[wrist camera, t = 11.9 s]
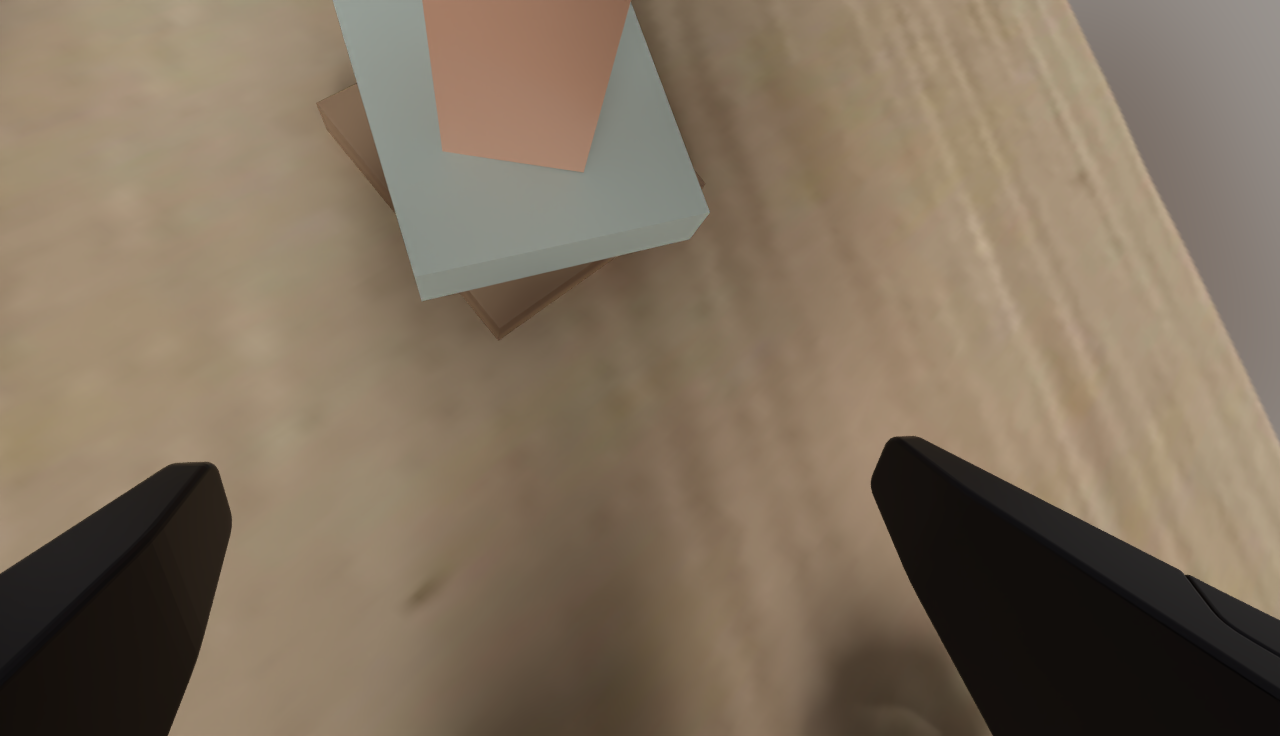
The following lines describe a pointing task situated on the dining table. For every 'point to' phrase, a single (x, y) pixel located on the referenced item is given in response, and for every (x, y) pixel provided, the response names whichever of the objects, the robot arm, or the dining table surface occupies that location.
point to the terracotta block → (522, 76)
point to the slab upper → (517, 167)
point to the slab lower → (352, 131)
